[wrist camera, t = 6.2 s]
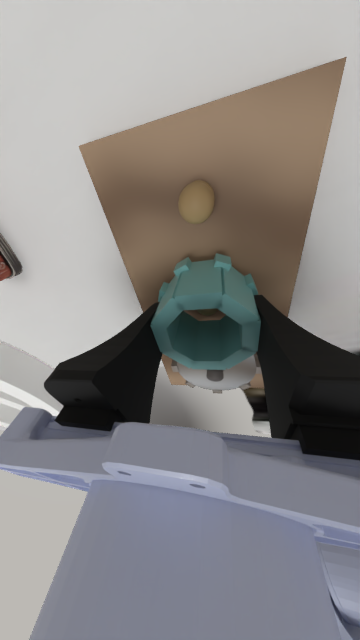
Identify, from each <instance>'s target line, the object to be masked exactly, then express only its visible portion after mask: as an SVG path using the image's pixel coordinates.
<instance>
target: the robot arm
mask: <svg viewBox="0 0 360 640" xmlns="http://www.w3.org/2000/svg"><path fill="white" fill-rule="evenodd" d="M254 300H255V304H256V307H257V310H258V313H259V316H260V319H261V326H260V335H259V343H258V351H256V353H257V356H258V360H259V363H260V367H261V371H262V377H263V383H264V389H265V395H266V401H267V408H268V415H269V422H270V429H271V437H272V438H268V437H258V436H248V435H238V434H228V433H219V432H218V433H217V432H210V431H206V430H200V429H196V428H187V427H177V426H167V425H157V424H149V422H150V414H151V407H152V399H153V393H154V388H155V382H156V377H157V372H158V367H159V364H160V361H161V357H162V352H160V349H159V347H158V344H157V342H156V339H155V336H154V334H153V331H152V328H151V326H150V325H151V322H152V319H153V317H154V315H155V312H156V310H157V308H158V305H159V303H160V302H156V303H154V304H153V305H151V306H150V307H149V308H148V309H147V310H146V311H145V312H144V313H143V314H141V315H140V316H139V317H138V318H137V319H136V320H135V321H133V322H132V323H131V324H130V325H129V326H127V327H126V328H125V329H124V330H122V331H121V332H119V333H118V334H117V335H115V336H114V337H112V338H111V339H109V340H107V341H105V342H104V343H102V344H100V345H99V346H97V347H95V348H93V349H91V350H89V351H87V352H85V353H83V354H81V355H78V356H76V357H74V358H71V359H69V360H66V361H64V362H61V363H59V364H58V366H57V367H56V368H55V369H54V371H53V372H52V373H51V374H50V376H49V377H48V378H47V379H46V381H45V382H44V388H45V390H46V391H47V392H48V393H49V394H50V395H51V396H52V397H53V398H55V399H56V400H57V401H58V402H59V403H61V404H62V405H63V408H62V410H61V411H60V413H59V414H58V416H52V414H51V413H50V412H48V411H46V410H44V409H41V408H33V407H24V408H23V409H22V410H21V411H20V413H19V414H18V415H17V416H16V418H15V419H14V420H13V421H12V423H11V424H10V425H9V426H8V427H7V429H6V430H5V431H4V432H3V434H2V435H1V436H0V469H2V470H4V471H7V472H11V473H13V474H16V475H19V476H23V477H28V478H32V479H37V480H41V481H45V482H50V483H54V484H58V485H62V486H66V487H71V488H74V489H79V490H82V491H87V492H88V494H87V496H86V499H85V501H84V504H83V506H82V509H81V511H80V514H79V516H78V519H77V521H76V524H75V526H74V529H73V531H72V534H71V536H70V539H69V541H68V544H67V546H66V549H65V551H64V554H63V556H62V559H61V561H60V564H59V566H58V569H57V571H56V574H55V576H54V579H53V582H52V584H51V586H50V589H49V591H48V594H47V596H46V599H45V601H44V604H43V606H42V609H41V611H40V614H39V616H38V619H37V621H36V624H35V626H34V629H33V631H32V634H31V636H30V639H29V640H360V356H357V355H355V354H352V353H350V352H348V351H346V350H343V349H341V348H339V347H337V346H334V345H332V344H330V343H328V342H326V341H324V340H322V339H320V338H319V337H317V336H315V335H313V334H311V333H310V332H308V331H306V330H305V329H303V328H302V327H300V326H298V325H297V324H295V323H294V322H293V321H291V320H290V319H289V318H287V317H286V316H285V315H284V314H282V313H281V312H280V311H279V310H278V309H277V308H275V307H274V306H273V305H272V304H271V303H270V302H269V301H268V300H267V299H266V298H265V297H264V296H263V295H254Z"/></svg>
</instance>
